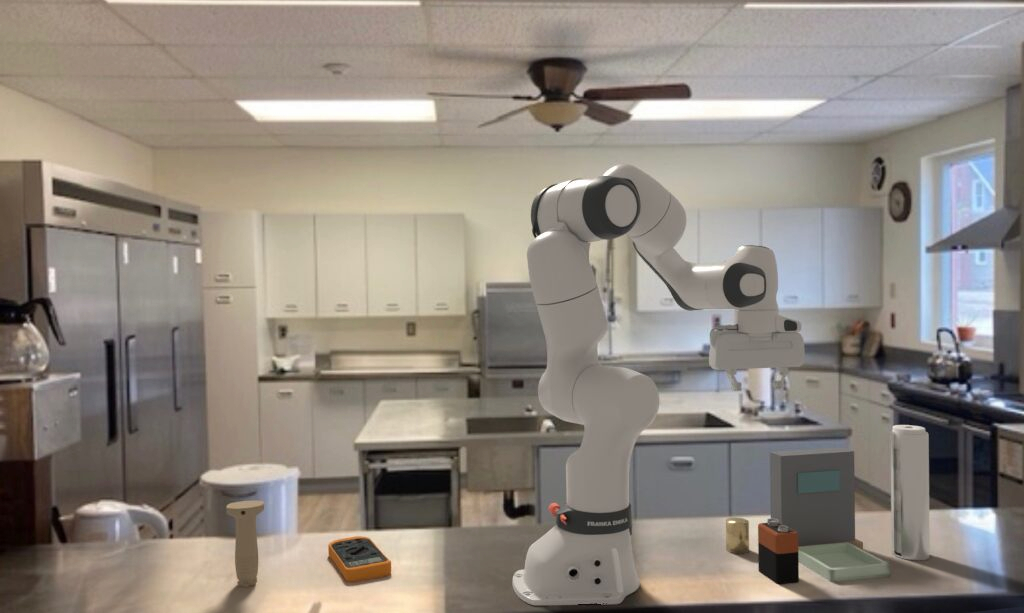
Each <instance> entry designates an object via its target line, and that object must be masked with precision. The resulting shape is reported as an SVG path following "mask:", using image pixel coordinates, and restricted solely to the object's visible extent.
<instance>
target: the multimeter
mask: <svg viewBox="0 0 1024 613" xmlns="http://www.w3.org/2000/svg"><path fill="white" fill-rule="evenodd" d="M327 547H328V550H327V551H328V556H329V557H328V558H330V560H331V561H332V562H333V563H334V565H336V566H335V567H336V568H337V569H338V570H339V573H341V575H342V576H343V578H344V579H345V581H346V582H348V583H356V582H362V581H365V580H366V581H367V580H372V579H377V578H381V577H382V578H383V577H387V576H390V575H391V573H392V561H391V560H390V559H389V558H388V557H387V556H386V555H385V554H384V553H383V552H382V550H380V548H379V547H378V546H377V545H376V544H375V542H374V541H373V540H372V539H371V537H369V536H368V537H367V536H360V535H358V536H351V537H349V536H348V537H344V538H338V539H336V540H333V541H331V542H329V543H328V545H327Z"/></svg>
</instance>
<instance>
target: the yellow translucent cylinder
mask: <svg viewBox="0 0 1024 613" xmlns="http://www.w3.org/2000/svg"><path fill="white" fill-rule="evenodd" d="M725 548H726V549H725V550H726V552H728V553H730V554H734V555H735V554H736V555H746V554H749V553H750V522H749V520H748V519H746V518H742V517H728V518H726V519H725Z"/></svg>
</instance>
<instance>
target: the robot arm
mask: <svg viewBox="0 0 1024 613" xmlns="http://www.w3.org/2000/svg"><path fill="white" fill-rule="evenodd" d="M530 221H531V227H532V228H531V229H532V230H531V232H532V235H533V237H534V239H532V241H531V242H530V243H529V245H528V247H527V251H526V258H527V259H526V260H527V268H528V276H529V280H530V281H529V282H530V286H531V287H530V288H531V291H532V296H533V298H534V301H535V302H534V303H535V305H536V309H537V313H538V316H539V319H540V320H539V321H540V323H541V326H542V330H543V334H544V337H545V341H546V342H545V343H546V350H547V352H546V354H547V355H546V356H547V357H546V358H547V361H546V363H547V364H546V369H545V371H544V372H543V373H542V375H541V376H540V379H539V382H538V386H537V396H538V402H539V403H540V406H541V407H542V408H543V410H544V411H545V412H547V413H549V414H550V415H552V416H554V417H555V418H558V419H560V420H561V421H564V422H568V423H572V424H576V425H577V424H579V425H581V426H583V428H584V429H583V437H582V440H581V444H580V447H579V448H578V449H577V450H575V451H574V452H572V453H571V454H570V455H569V457H568V458H567V460H566V463H565V475H566V476H565V480H566V481H565V482H566V483H565V484H566V502H565V503H564V504H562V505H561V506H560V505H559V504H558V503H556V502H552V503H550V504H549V506H548V511H549V513H550V514H551V515H552V516H553V517H555V525H554V526H553V527H552V528H550V530H548V531H547V532H546V533H545V534H543V535H542V536H541V537H540V538H538V539H537V540H536V541H534V542H533V543H532V544H531V545H530V546H529V548H528V550H527V552H526V557H525V562H524V563H525V564H524V569H523V568H522V569H519V570H517V571H515V572H514V574H513V576H512V582H511V584H512V589H513V591H514V592H515V594H516V595H517V597H518V598H519V599H520V600H522V601H523V602H525V603H526V604H528V605H531V606H579V605H578V604H590V603H593V604H594V603H597V604H601V605H618V604H621V603H623V601H624V600H625V598H626V597H627V596H629V595H631V594H633V593H634V592H636V591H637V590H638V589H639V587H640V585H641V584H640V579H639V576H638V573H637V569H636V565H635V560H634V554H633V553H634V552H633V546H632V540H631V539H632V537H631V536H632V535H633V512H632V504H631V503H630V497H629V496H630V485H629V484H630V464H631V457H632V454H633V449H634V447H635V445H636V443H637V439H638V438H639V436H640V435H641V434H642V433H643V431H644V430H647V428H649V427H650V426H651V424H652V423H653V422H654V421H655V419H656V417H657V415H658V413H659V409H660V393H659V389H658V387H657V384H656V383H655V381H654V380H653V379H652V378H651V377H649V376H648V375H646V374H643V373H641V372H638V371H636V370H633V369H630V368H628V367H621V366H611V365H603V364H602V363H601V362H600V359H599V355H598V348H599V347H598V344H599V343H600V341H601V340H602V339H603V338H604V337H605V335H606V334H607V331H608V329H609V328H608V326H609V322H608V319H607V316H606V311H605V309H604V304H603V301H602V298H601V294H600V290H599V286H598V283H597V282H598V281H597V280H596V276H595V273H594V271H593V267H592V265H591V263H590V248H591V243H595V242H600V241H603V240H605V241H606V240H607V241H609V240H615V239H617V238H620V237H622V236H624V235H625V236H626V237H628V238H629V239H630V240H631V241H632V245H633V246H632V247H633V248H634V250H635V252H636V253H637V254H638V256H639V257H640V258H641V259H642V260H643V262H644V263H645V264H646V265H647V266H648V267H649V269H651V271H653V273H655V275H656V276H657V277H658V278H659V279H660V280H661V281H662V282H663V283H664V285H665V286H666V287H667V289H668V290H669V292H670V295H671V296H672V298H673V300H674V301H675V302H676V304H677V305H678V306H679V307H680V308H682V309H683V310H685V311H691V312H692V311H693V312H694V311H699V310H701V311H702V310H733V324H717V325H715V327H713V328H712V329H711V330H710V332H709V343H710V345H709V354H708V364H709V366H710V368H711V369H712V370H716V371H724V370H725V375H726V377H727V380H729V382H730V390H731V391H732V392H741V391H742V382H739V381H738V380H737V378H736V377H735V376H737V370H753V369H773V368H774V369H775V368H776V372H777V376H776V378H775V379H772V380H771V381H772V384H771V385H772V386H771V387H772V389H774V390H783V389H784V381H785V379H786V377H787V375H788V374H789V368H794V367H795V368H796V367H797V368H799V367H802V366H803V365H804V363H805V360H806V359H805V358H806V357H805V356H806V353H805V352H806V351H805V343H804V342H805V341H804V338H803V335H802V334H801V333H799V332H800V331H801V330H802V323H801V322H800V321H799V320H795V319H792V318H788V317H787V316H782V315H780V314H779V305H778V302H777V294H778V290H779V275H778V274H779V273H778V265H777V260H776V255H775V252H774V251H773V250H772V249H771V248H769V247H766V246H763V245H754V244H753V245H752V244H751V245H741V246H739V247H737V248H736V250H735V254H734V255H732V256H730V257H729V258H727V259H726V260H723V261H718V262H708V263H707V262H704V263H702V262H701V263H700V262H697V263H696V262H690V261H686V260H685V259H684V258H683V257H682V256H681V255H680V254H679V253H678V251H677V249H675V247H676V245H677V244H678V243H679V242H680V241H681V238H682V237H683V235H684V233H685V230H686V226H687V213H686V210H685V208H684V206H683V205H682V203H681V202H680V201H679V200H678V199H677V198H676V197H675V196H674V195H673V194H672V193H671V192H670V191H669V190H668V189H667V188H665V186H664V185H662V184H661V183H660V182H659V181H657V179H655V178H654V177H652V176H650V175H649V174H648V173H646V172H645V171H643V170H642V169H640V168H638V167H636V166H634V165H633V164H630V163H621V164H616V165H613V166H612V167H611V168H609V169H608V170H606V171H605V172H604V173H603V175H601V176H597V177H586V178H585V177H583V178H573V179H570V180H567V181H566V180H565V181H563V182H560V183H555V184H550V185H549V186H547V187H545V188H543V189H542V190H541V191H539V192H538V193H537V194H536V195H535V197H534V199H533V201H532V203H531V209H530ZM603 603H604V604H603ZM606 603H607V604H606Z"/></svg>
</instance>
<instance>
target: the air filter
mask: <svg viewBox="0 0 1024 613" xmlns="http://www.w3.org/2000/svg"><path fill="white" fill-rule="evenodd" d="M889 432H890V433H889V434H890V437H889V438H890V510H891V511H890V517H891V518H890V519H891V520H890V521H891V522H890V523H891V524H890V526H891V528H890V530H891V531H890V532H891V536H890V537H891V539H890V540H891V553H892V554H893V555H894V556H895V557H898V558H900V559H902V560H903V559H904V560H909V561H915V560H918V561H917V562H919V561H920V560H922V561H926V560H929V559H930V553H931V552H930V548H931V547H930V546H931V545H930V458H929V457H930V454H929V452H930V449H929V448H930V447H929V446H930V442H929V439H930V438H929V433H928V432H927V431H926V428H925V427H923V426H919V425H910V424H895V425H893V426H892V429H891V430H890V431H889Z"/></svg>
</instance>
